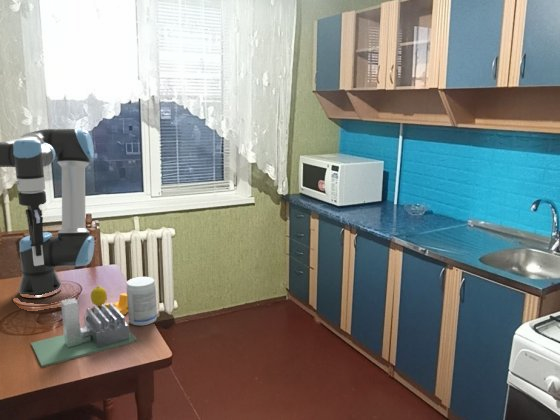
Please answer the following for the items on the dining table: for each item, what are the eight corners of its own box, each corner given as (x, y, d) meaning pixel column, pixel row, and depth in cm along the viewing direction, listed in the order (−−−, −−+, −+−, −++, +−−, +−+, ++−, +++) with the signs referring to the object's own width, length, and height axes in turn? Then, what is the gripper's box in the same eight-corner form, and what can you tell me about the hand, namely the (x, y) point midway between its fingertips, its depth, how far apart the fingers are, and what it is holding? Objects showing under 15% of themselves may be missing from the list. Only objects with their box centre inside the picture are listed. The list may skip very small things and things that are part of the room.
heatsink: (75, 333, 160) (73, 310, 158) (115, 323, 168) (113, 301, 166) (87, 351, 149) (85, 327, 147) (129, 339, 157) (128, 316, 155)
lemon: (107, 302, 185) (106, 282, 183) (107, 308, 180) (106, 288, 178) (91, 304, 184) (90, 284, 182) (91, 310, 178) (89, 289, 177)
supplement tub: (162, 318, 173) (161, 279, 170) (143, 329, 165) (141, 288, 162) (142, 312, 178) (140, 274, 174) (122, 322, 170) (120, 282, 166)
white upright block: (64, 342, 154) (60, 300, 150) (87, 336, 158) (84, 295, 154) (67, 347, 150) (64, 305, 147) (91, 341, 154) (88, 300, 151)
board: (31, 344, 153) (31, 342, 153) (120, 322, 170) (120, 320, 170) (41, 367, 141) (41, 365, 141) (136, 340, 157) (136, 339, 157)
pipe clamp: (118, 309, 180) (118, 292, 179) (129, 310, 179) (129, 293, 178) (100, 321, 168) (99, 304, 167) (112, 323, 167) (111, 305, 166)
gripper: (14, 188, 152) (22, 261, 157) (21, 196, 141) (29, 273, 147) (40, 186, 156) (47, 256, 161) (49, 193, 146) (56, 268, 151)
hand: (38, 264), depth 154 cm, fingers closed
